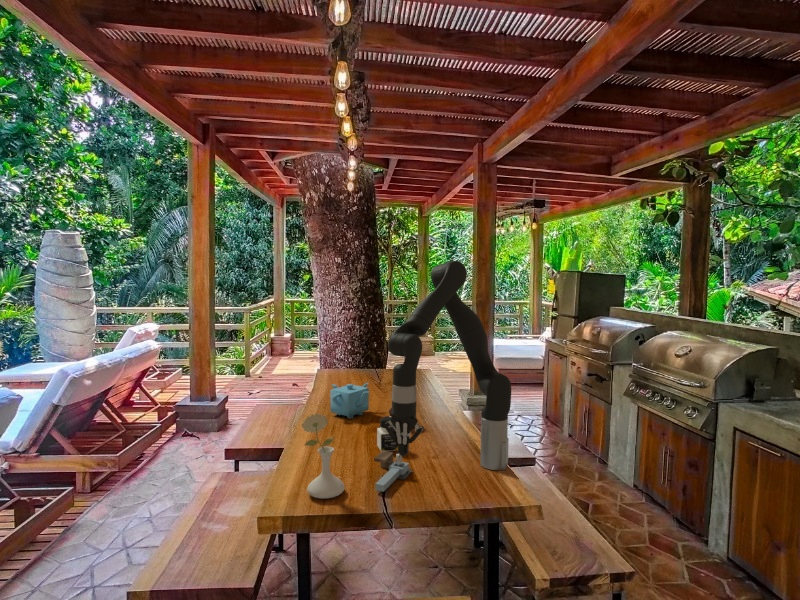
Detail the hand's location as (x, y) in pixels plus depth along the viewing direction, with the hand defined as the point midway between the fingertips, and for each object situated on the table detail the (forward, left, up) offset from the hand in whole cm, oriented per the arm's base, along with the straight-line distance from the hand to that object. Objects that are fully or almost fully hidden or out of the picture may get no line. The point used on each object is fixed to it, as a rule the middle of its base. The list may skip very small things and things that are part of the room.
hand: (403, 455), depth 141 cm
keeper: (+13, -14, -12) cm, 22 cm away
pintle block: (+7, -13, -12) cm, 19 cm away
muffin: (+25, -59, -13) cm, 65 cm away
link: (+7, -6, -11) cm, 15 cm away
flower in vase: (+23, +9, -13) cm, 28 cm away
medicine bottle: (+20, -33, -13) cm, 40 cm away
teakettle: (+54, -66, -13) cm, 86 cm away
